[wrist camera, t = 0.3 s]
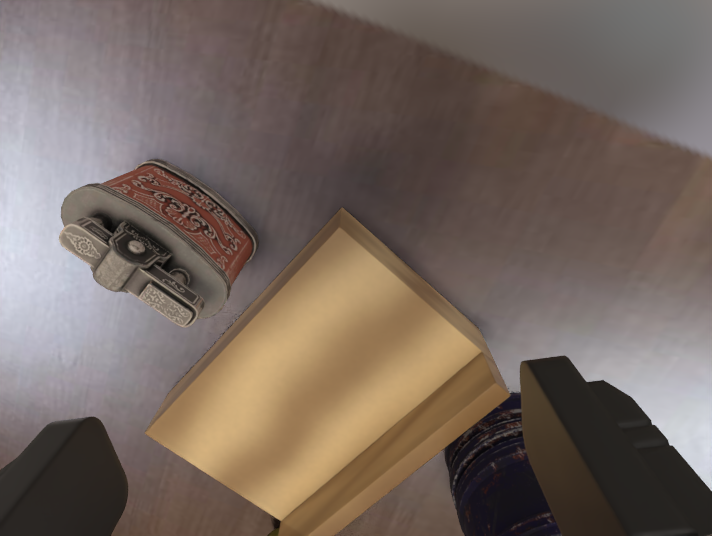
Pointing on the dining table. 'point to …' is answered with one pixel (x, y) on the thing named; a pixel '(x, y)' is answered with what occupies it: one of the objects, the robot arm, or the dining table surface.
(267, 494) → the shelf
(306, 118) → the dining table surface
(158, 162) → the lighter
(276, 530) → the lime
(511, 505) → the dark blue cylinder
